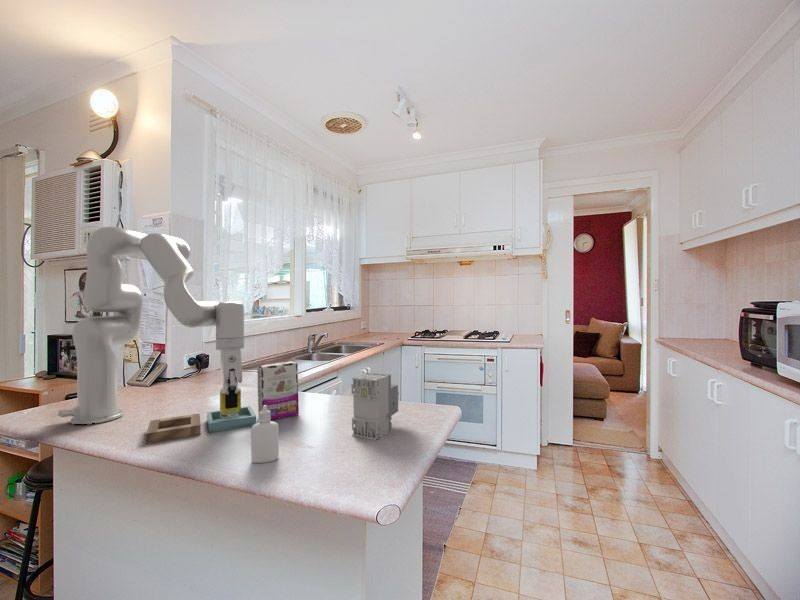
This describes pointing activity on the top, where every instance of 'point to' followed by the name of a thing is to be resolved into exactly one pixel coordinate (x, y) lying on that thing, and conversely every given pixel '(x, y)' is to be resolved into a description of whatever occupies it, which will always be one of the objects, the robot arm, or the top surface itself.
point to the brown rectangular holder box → (173, 428)
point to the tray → (230, 420)
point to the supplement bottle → (231, 411)
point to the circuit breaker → (373, 404)
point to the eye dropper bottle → (264, 438)
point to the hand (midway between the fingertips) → (230, 404)
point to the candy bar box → (278, 389)
